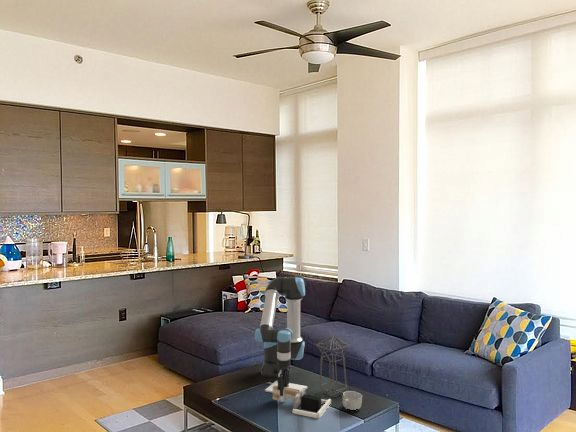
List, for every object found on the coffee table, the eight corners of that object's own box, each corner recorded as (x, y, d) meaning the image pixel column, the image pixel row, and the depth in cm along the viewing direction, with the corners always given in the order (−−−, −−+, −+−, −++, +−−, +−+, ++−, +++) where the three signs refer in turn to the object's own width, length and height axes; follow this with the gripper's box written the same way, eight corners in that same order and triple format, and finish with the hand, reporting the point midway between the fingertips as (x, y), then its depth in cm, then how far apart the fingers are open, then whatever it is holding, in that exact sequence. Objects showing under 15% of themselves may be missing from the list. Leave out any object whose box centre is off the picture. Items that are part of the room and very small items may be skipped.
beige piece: (278, 393, 283) (278, 381, 282) (305, 398, 276) (305, 386, 276) (268, 403, 270) (268, 390, 270) (296, 408, 263) (296, 395, 263)
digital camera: (322, 409, 267) (322, 396, 266) (318, 413, 262) (318, 400, 261) (304, 405, 271) (304, 393, 271) (300, 409, 266) (301, 396, 266)
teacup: (350, 402, 275) (350, 389, 275) (366, 408, 267) (366, 394, 267) (334, 410, 265) (334, 395, 265) (350, 416, 257) (350, 402, 257)
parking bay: (305, 399, 279) (306, 394, 278) (331, 404, 272) (331, 399, 272) (292, 413, 261) (292, 407, 261) (319, 418, 255) (319, 413, 255)
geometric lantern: (332, 401, 276) (331, 341, 275) (314, 393, 289) (313, 335, 288) (352, 395, 285) (351, 336, 284) (334, 387, 298) (333, 330, 297)
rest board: (276, 382, 304) (276, 380, 304) (307, 387, 296) (307, 386, 296) (264, 391, 290) (265, 389, 290) (297, 397, 281) (297, 395, 281)
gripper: (283, 353, 282) (283, 393, 283) (271, 362, 267) (271, 404, 268) (295, 355, 279) (294, 395, 280) (284, 364, 264) (283, 406, 265)
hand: (283, 399), depth 274 cm, fingers closed on beige piece, 3 cm apart
